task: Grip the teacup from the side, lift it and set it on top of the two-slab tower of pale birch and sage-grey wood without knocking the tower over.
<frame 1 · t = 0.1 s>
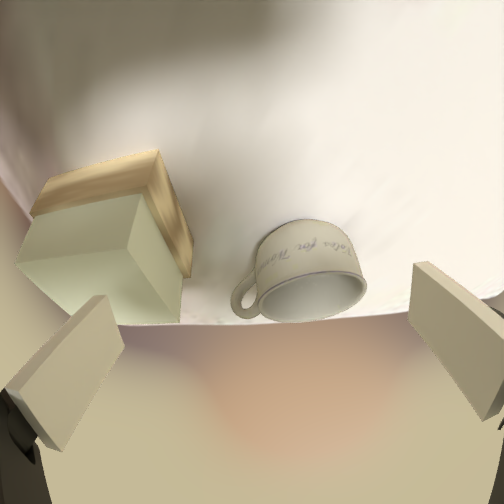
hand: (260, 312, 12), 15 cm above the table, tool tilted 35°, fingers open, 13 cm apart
tower top: (109, 247, 25), point 5 cm above the table, touching tower base
tower base: (122, 207, 28), on the table, touching tower top
teacup: (287, 240, 33), on the table
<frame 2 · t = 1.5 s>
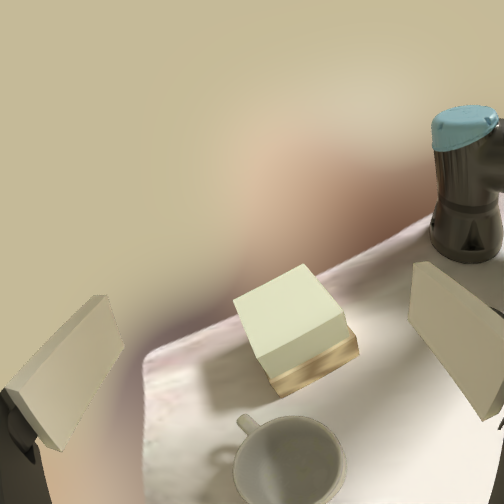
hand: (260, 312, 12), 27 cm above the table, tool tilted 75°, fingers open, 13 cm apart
tower top: (294, 329, 39), point 5 cm above the table, touching tower base
tower base: (303, 349, 42), on the table, touching tower top
teacup: (297, 467, 28), on the table
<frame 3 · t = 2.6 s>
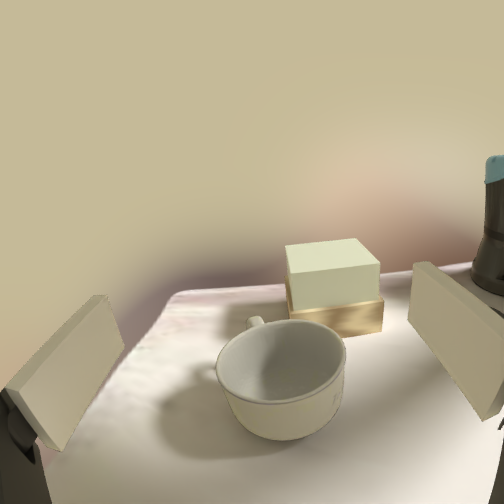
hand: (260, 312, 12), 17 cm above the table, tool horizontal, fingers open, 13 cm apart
tower top: (329, 287, 41), point 5 cm above the table, touching tower base
tower base: (330, 318, 42), on the table, touching tower top
teacup: (282, 403, 27), on the table
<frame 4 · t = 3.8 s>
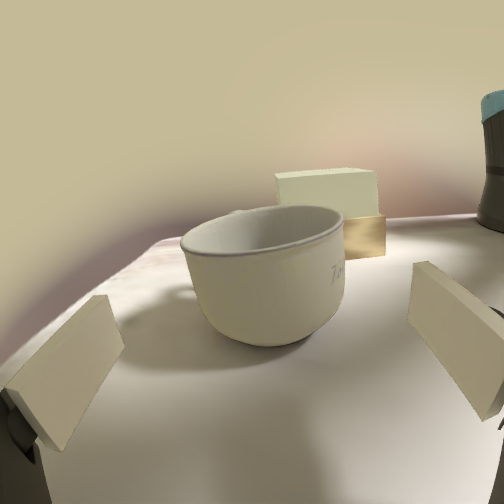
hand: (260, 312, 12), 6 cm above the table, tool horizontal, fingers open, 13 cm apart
tower top: (322, 211, 37), point 5 cm above the table, touching tower base
tower base: (326, 248, 38), on the table, touching tower top
teacup: (269, 316, 24), on the table
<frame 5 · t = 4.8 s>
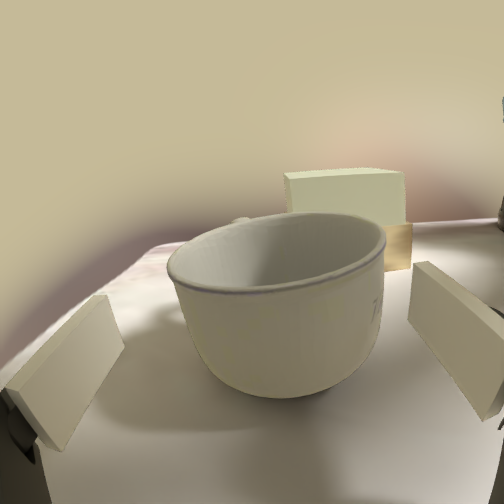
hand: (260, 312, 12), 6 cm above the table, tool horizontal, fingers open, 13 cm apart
tower top: (339, 217, 32), point 5 cm above the table, touching tower base
tower base: (342, 259, 33), on the table, touching tower top
teacup: (281, 350, 19), on the table
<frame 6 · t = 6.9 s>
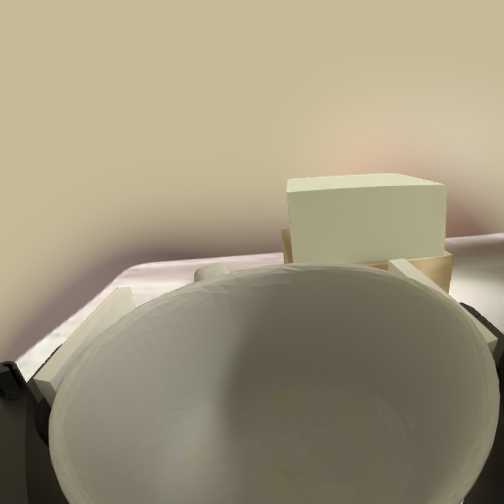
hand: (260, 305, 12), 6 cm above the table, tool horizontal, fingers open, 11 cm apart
tower top: (357, 239, 24), point 5 cm above the table
tower base: (356, 293, 25), on the table
teacup: (274, 466, 10), on the table, touching gripper
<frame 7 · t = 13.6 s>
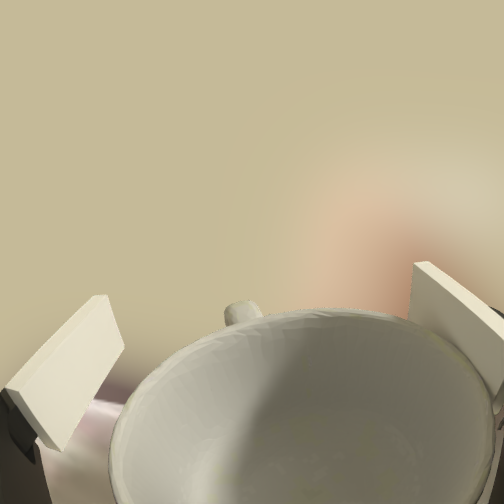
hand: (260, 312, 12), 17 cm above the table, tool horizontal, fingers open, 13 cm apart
teacup: (295, 485, 11), point 9 cm above the table, touching gripper, tower top
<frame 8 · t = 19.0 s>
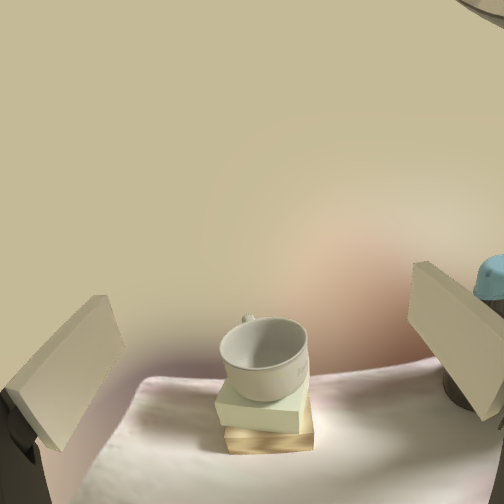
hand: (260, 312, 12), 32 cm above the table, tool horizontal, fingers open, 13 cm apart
tower top: (267, 403, 40), point 4 cm above the table, touching teacup, tower base
tower base: (271, 426, 41), on the table, touching tower top
teacup: (267, 379, 39), point 9 cm above the table, touching tower top
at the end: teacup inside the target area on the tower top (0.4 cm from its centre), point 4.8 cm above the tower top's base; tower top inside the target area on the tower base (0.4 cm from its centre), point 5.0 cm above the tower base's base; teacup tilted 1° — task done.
